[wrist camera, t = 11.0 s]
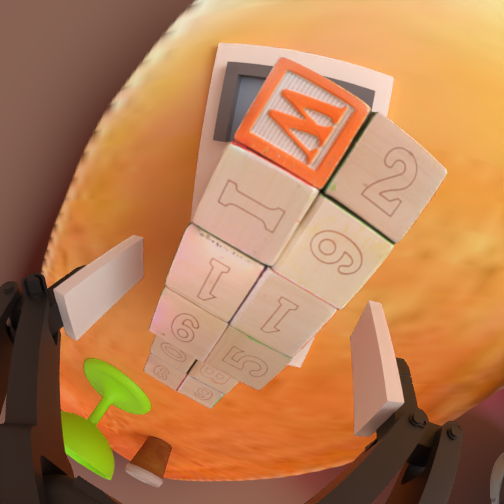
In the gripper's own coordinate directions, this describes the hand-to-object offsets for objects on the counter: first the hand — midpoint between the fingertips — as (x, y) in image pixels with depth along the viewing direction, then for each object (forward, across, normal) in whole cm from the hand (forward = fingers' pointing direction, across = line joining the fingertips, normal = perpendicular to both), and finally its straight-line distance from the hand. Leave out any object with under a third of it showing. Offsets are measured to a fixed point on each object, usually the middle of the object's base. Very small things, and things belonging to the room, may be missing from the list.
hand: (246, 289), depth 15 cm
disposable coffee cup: (+10, +14, +60) cm, 62 cm away
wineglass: (+10, +22, +39) cm, 46 cm away
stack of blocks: (+8, 0, 0) cm, 8 cm away
